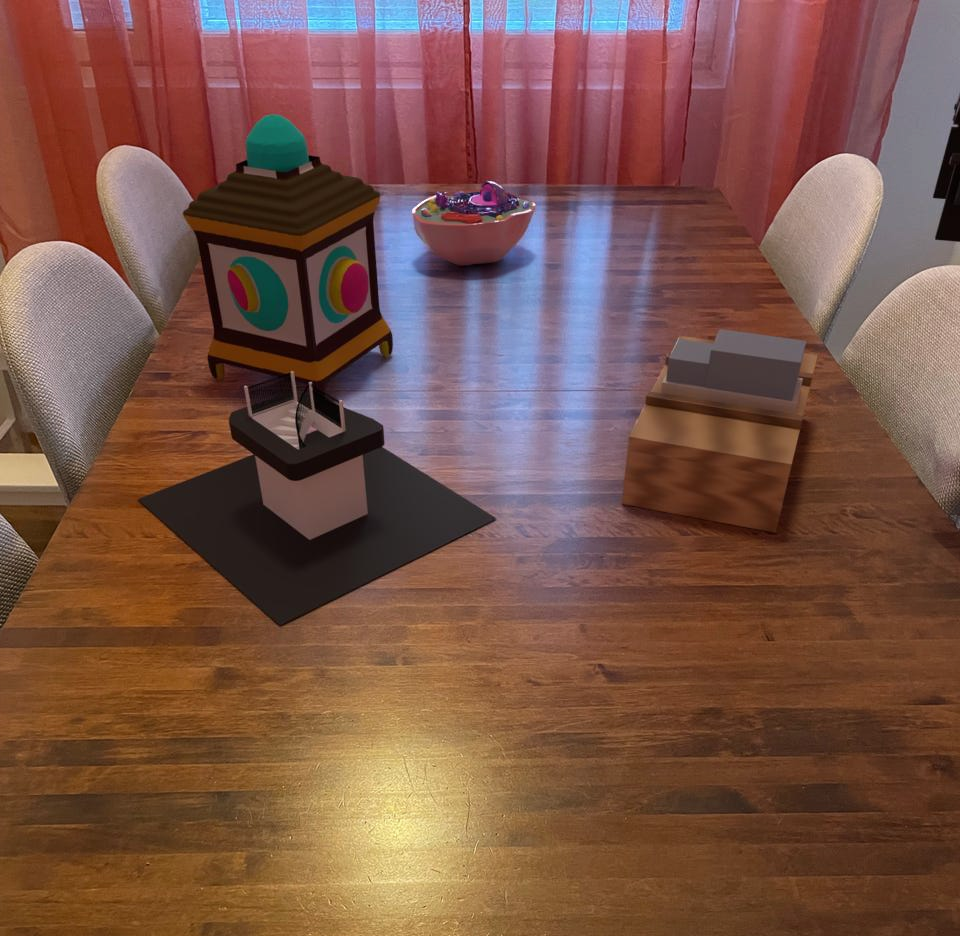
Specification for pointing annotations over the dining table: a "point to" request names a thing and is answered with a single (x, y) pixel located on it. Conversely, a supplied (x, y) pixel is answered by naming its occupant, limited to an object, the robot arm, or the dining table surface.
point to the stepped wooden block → (713, 456)
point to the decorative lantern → (289, 262)
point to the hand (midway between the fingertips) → (948, 218)
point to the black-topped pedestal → (310, 504)
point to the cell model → (473, 223)
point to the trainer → (738, 370)
